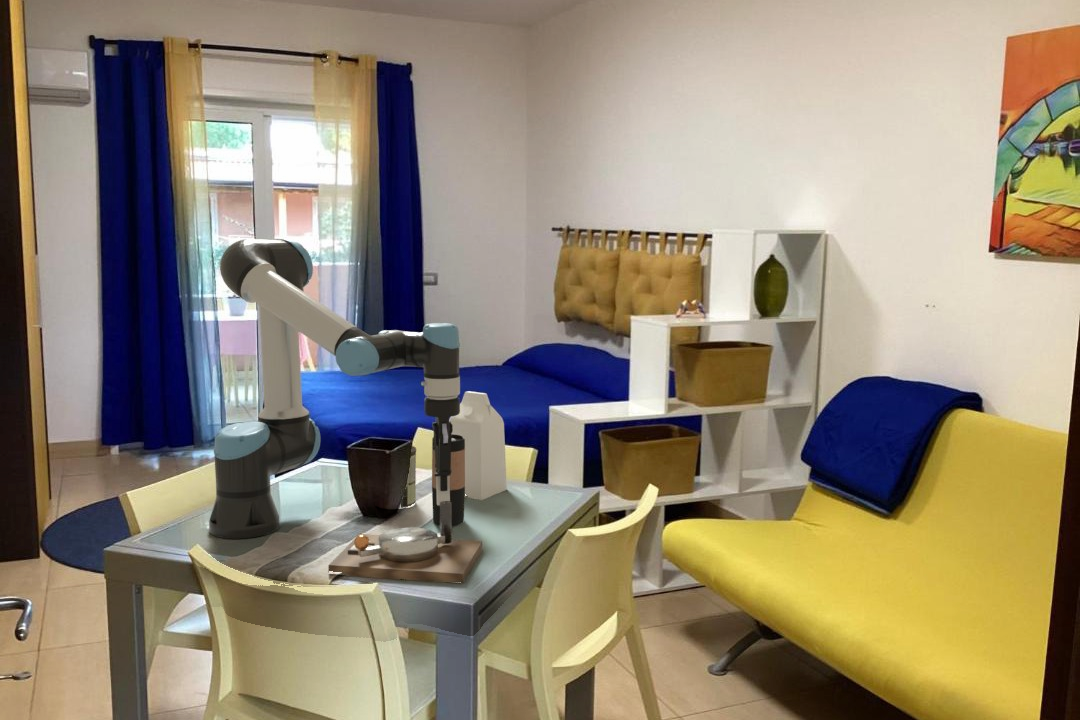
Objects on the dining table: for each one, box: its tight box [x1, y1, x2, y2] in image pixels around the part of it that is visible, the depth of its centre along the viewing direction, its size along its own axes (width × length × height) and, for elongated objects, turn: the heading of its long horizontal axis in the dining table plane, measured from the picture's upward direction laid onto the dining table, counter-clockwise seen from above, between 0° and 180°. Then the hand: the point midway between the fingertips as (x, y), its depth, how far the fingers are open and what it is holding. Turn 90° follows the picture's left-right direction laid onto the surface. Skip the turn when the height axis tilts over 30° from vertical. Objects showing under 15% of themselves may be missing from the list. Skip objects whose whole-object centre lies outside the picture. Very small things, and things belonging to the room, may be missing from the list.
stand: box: [327, 533, 483, 584], centre depth 191 cm, size 27×19×3 cm
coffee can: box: [401, 445, 417, 508], centre depth 229 cm, size 10×10×14 cm
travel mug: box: [431, 434, 466, 527], centre depth 216 cm, size 8×8×20 cm
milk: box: [449, 390, 508, 501], centre depth 241 cm, size 12×12×26 cm
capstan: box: [354, 501, 452, 562], centre depth 190 cm, size 21×12×9 cm, turn 122°
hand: (443, 503), depth 201 cm, fingers closed
